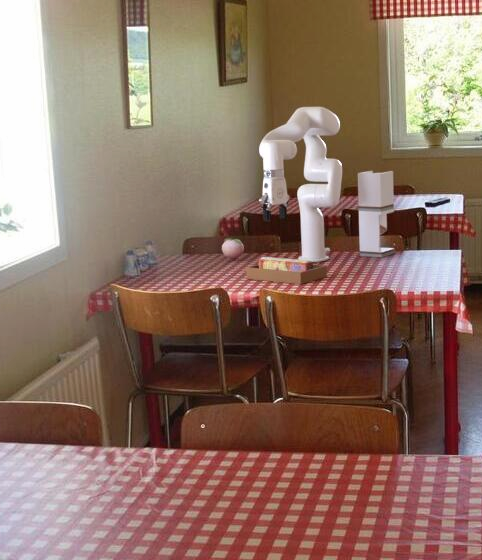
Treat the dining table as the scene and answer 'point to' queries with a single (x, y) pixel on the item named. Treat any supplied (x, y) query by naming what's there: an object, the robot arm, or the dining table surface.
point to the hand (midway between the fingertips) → (275, 219)
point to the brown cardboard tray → (286, 274)
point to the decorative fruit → (232, 248)
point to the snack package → (285, 264)
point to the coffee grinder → (374, 211)
